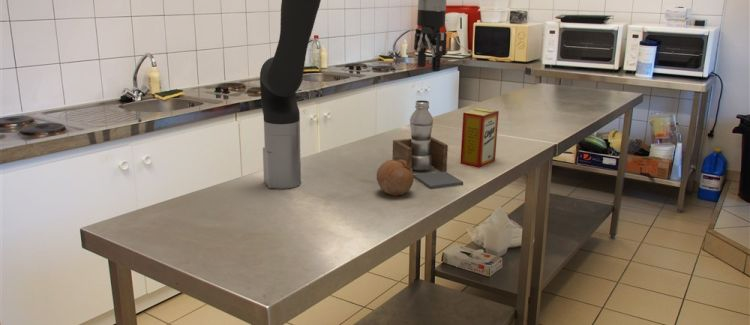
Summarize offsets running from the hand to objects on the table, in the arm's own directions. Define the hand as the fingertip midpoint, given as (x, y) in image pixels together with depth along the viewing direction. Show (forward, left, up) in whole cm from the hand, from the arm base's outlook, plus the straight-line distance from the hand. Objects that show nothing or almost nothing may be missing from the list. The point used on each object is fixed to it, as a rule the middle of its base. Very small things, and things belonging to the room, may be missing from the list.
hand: (428, 68), depth 171 cm
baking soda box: (+18, +1, -29) cm, 35 cm away
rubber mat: (-2, -11, -29) cm, 31 cm away
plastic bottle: (-2, 0, -29) cm, 29 cm away
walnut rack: (-2, 0, -29) cm, 29 cm away
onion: (-17, -16, -29) cm, 38 cm away
